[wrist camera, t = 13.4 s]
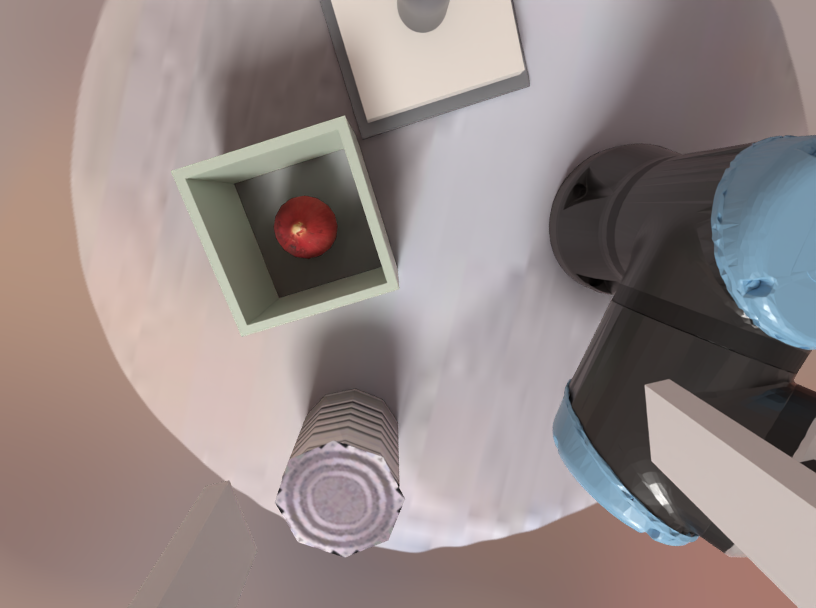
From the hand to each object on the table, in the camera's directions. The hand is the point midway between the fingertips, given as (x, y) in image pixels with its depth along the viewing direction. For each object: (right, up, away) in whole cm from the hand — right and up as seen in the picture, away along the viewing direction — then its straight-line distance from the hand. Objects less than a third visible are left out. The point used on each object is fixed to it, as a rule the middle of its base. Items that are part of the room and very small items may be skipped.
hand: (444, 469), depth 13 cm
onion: (-11, +13, +30) cm, 34 cm away
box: (-11, +13, +30) cm, 34 cm away
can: (-8, -10, +36) cm, 38 cm away
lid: (0, +32, +25) cm, 40 cm away
